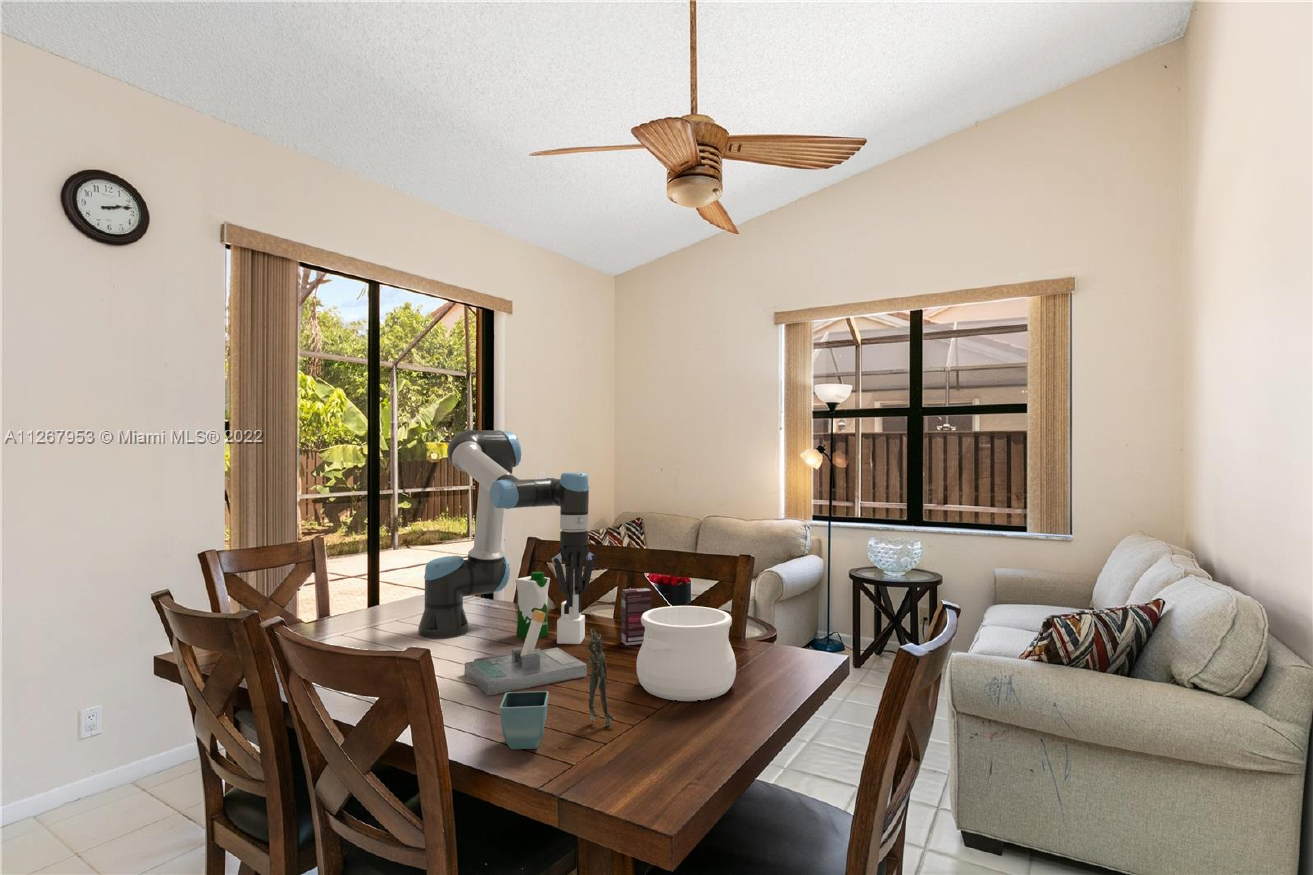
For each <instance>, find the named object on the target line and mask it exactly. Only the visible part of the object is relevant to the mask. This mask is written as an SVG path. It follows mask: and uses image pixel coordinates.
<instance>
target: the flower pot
mask: <svg viewBox="0 0 1313 875" xmlns="http://www.w3.org/2000/svg"><path fill="white" fill-rule="evenodd" d="M549 694H550V693H549V691H548V690H545V691H540V690H539V691H537V690H536V691H509V692H504V695H503V698H502V700H501V703H500V705H499V715H500V722H501V723H500V724H501V731H502V735H503V738H504V740H505V741H504V742H505V744H507V746H508V748H510V750H525V749H526V750H528V749H529V750H532V749H534V750H535V749H537V748H538V747H539V744H540V743H541V740H542V738H543V735H544V731H545V724H546V720H547V714H548V706H549V704H548V703H549Z"/></svg>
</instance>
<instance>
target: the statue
mask: <svg viewBox="0 0 1313 875" xmlns="http://www.w3.org/2000/svg"><path fill="white" fill-rule="evenodd" d="M589 634H590V638H591V639H590V642H589V643H588V650H589V652H590V653H591V655H590V656H589V657H588V663H589V667H590V668H591V672H590V676H589V694H588V708H589V715H590V722H591V723H595V720H596V718H598V717H600V714H599V712H597V711H596V710H595V706H594V705H595V704H594V703H595V694H596V690H597V688H598V690H599V693H600V703H601V707H602V710H603V714H604V718H605V726H606V727H610V726H611V721H612V720H613V721H616V720H617V719H616V717H615V716H613V715H611V713H609V709H608V701H607V692H606V690H607V685H608V683H609V679H608V678H607V677H608V670H607V669H608V668H607V661H606V655H605V652H603V649H604V646H603V645H604V644H603V643H604V639H603V634H602V633H598V632H596V629H592V628H590V629H589Z"/></svg>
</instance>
